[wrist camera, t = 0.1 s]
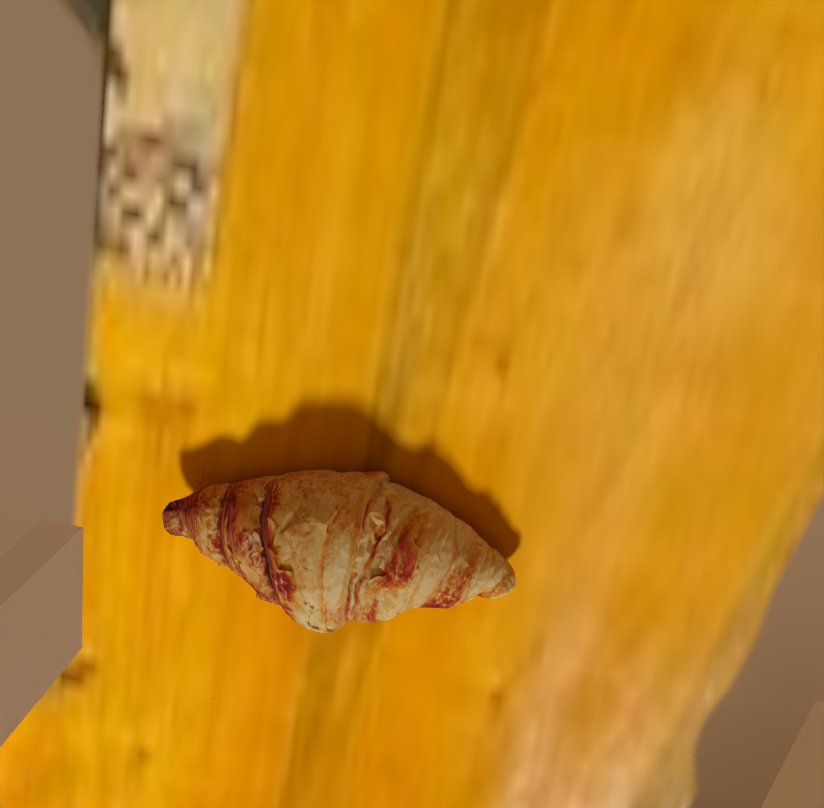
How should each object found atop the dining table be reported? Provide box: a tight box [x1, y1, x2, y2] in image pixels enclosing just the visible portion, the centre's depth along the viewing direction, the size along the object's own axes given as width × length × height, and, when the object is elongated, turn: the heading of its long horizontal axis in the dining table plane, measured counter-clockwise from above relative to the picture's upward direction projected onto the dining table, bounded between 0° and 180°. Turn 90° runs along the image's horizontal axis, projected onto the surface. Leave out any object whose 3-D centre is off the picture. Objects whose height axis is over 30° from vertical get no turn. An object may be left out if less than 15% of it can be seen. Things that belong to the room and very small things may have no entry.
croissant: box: [162, 469, 516, 633], centre depth 43 cm, size 21×10×8 cm, turn 83°
